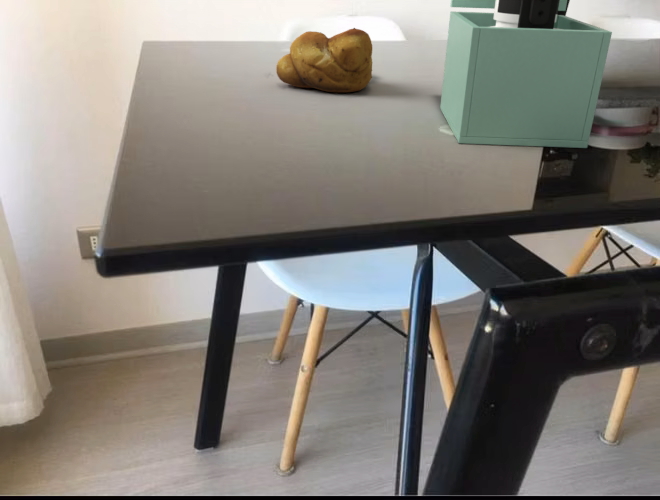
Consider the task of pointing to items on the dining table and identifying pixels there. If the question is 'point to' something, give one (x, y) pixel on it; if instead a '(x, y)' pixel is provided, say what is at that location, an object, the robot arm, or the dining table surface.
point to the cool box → (522, 81)
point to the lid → (491, 4)
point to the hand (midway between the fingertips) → (523, 26)
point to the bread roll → (328, 61)
